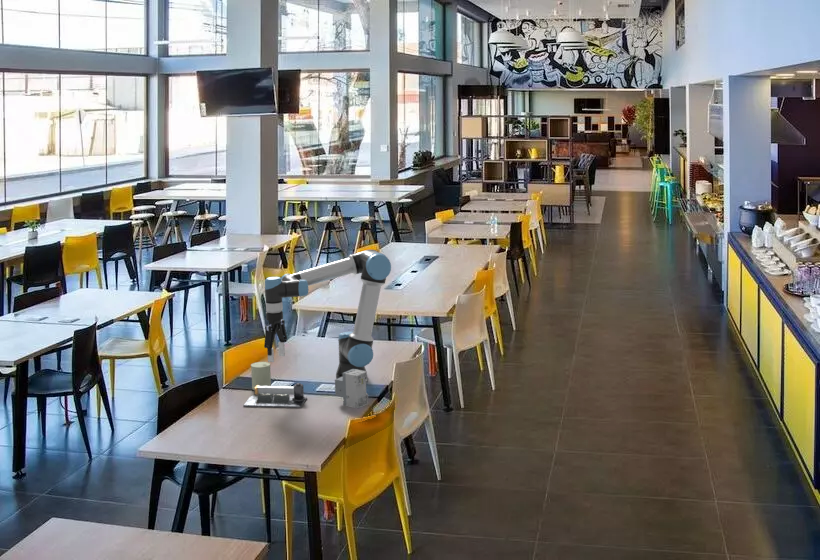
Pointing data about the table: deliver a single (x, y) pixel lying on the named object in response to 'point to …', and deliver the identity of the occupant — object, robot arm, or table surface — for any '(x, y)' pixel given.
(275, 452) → the table surface
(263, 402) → the tray
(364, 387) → the circuit breaker
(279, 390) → the swing arm
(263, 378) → the can
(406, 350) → the table surface
